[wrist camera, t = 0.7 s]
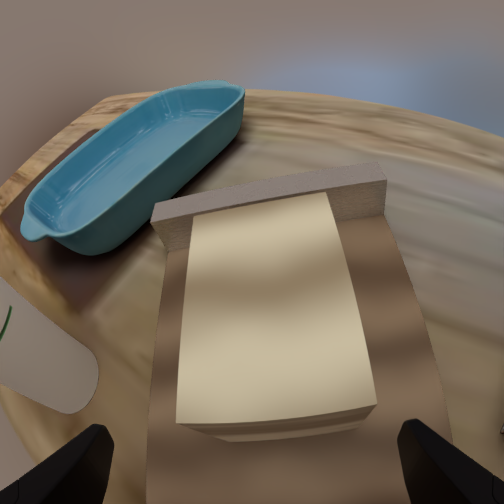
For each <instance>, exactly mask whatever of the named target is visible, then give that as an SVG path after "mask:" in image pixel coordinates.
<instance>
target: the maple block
mask: <svg viewBox="0 0 504 504" xmlns="http://www.w3.org/2000/svg"><path fill="white" fill-rule="evenodd" d="M376 405H377V399H376V393H375V387H374V382H373V376H372V371H371V366H370V361H369V356H368V351H367V346H366V341H365V337H364V332H363V327H362V323H361V319H360V314H359V310H358V306H357V302H356V297H355V293H354V289H353V285H352V281H351V278H350V274H349V270H348V266H347V262H346V259H345V255H344V251H343V248H342V244H341V241H340V237H339V234H338V230H337V227H336V224H335V220H334V217H333V214H332V210H331V207H330V204H329V201H328V198H327V194H326V192H322V193H316V194H310V195H304V196H298V197H292V198H286V199H280V200H275V201H269V202H264V203H258V204H253V205H248V206H242V207H237V208H232V209H227V210H222V211H217V212H212V213H207V214H202V215H197V216H194V218H193V226H192V233H191V241H190V250H189V258H188V267H187V276H186V285H185V295H184V305H183V316H182V328H181V340H180V353H179V368H178V385H177V405H176V423H177V424H179V425H182V426H185V427H187V428H190V429H193V430H195V431H198V432H201V433H204V434H207V435H210V436H213V437H216V438H219V439H222V440H225V441H229V442H243V441H262V440H276V439H287V438H297V437H305V436H313V435H320V434H327V433H334V432H340V431H345V430H351V429H356V428H358V427H359V426H360V425H361V424H362V423H363V421H364V420H365V419H366V418H367V416H368V415H369V414H370V413H371V411H372V410H373V409H374V408H375V406H376Z"/></svg>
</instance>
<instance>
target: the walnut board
mask: <svg viewBox="0 0 504 504" xmlns="http://www.w3.org/2000/svg"><path fill="white" fill-rule="evenodd" d="M335 224H336V227H337V230H338V234H339V237H340V241H341V244H342V248H343V251H344V255H345V259H346V262H347V266H348V270H349V274H350V278H351V281H352V285H353V289H354V293H355V297H356V302H357V306H358V310H359V314H360V319H361V323H362V327H363V332H364V337H365V341H366V346H367V351H368V356H369V361H370V366H371V371H372V376H373V382H374V387H375V393H376V399H377V405H376V406H375V408H374V409H373V410H372V411H371V413H370V414H369V415H368V416H367V418H366V419H365V420H364V421H363V423H362V424H361V425H360V426H359V427H358V428H356V429H351V430H345V431H340V432H334V433H327V434H320V435H313V436H305V437H297V438H287V439H276V440H262V441H243V442H229V441H225V440H222V439H219V438H216V437H213V436H210V435H207V434H204V433H201V432H198V431H195V430H193V429H190V428H187V427H185V426H182V425H179V424H177V423H176V405H177V385H178V368H179V353H180V340H181V328H182V316H183V305H184V295H185V285H186V276H187V267H188V258H189V250H190V248H186V249H181V250H175V251H170V252H168V257H167V263H166V269H165V275H164V281H163V288H162V295H161V302H160V309H159V316H158V324H157V332H156V341H155V349H154V359H153V369H152V379H151V391H150V404H149V419H148V437H147V462H146V504H411V502H410V499H409V495H408V492H407V489H406V485H405V482H404V477H403V471H402V466H401V461H400V455H399V450H398V445H397V437H398V434H399V432H400V429H401V427H402V424H403V422H404V421H406V420H409V419H414V418H417V419H419V420H420V421H422V422H423V423H424V424H426V425H427V426H428V427H430V428H431V429H432V430H434V431H435V432H436V433H438V434H439V435H440V436H442V437H443V438H444V439H446V440H447V441H448V442H450V443H451V444H452V445H453V441H452V435H451V429H450V424H449V418H448V413H447V408H446V403H445V398H444V394H443V389H442V385H441V381H440V377H439V373H438V369H437V365H436V361H435V357H434V353H433V350H432V346H431V343H430V339H429V336H428V332H427V329H426V326H425V322H424V319H423V316H422V313H421V310H420V307H419V304H418V301H417V298H416V295H415V292H414V289H413V286H412V284H411V281H410V278H409V275H408V273H407V270H406V267H405V265H404V262H403V259H402V257H401V254H400V252H399V249H398V247H397V244H396V242H395V239H394V237H393V235H392V232H391V230H390V228H389V225H388V223H387V221H386V218H385V216H384V215H378V216H372V217H366V218H360V219H354V220H347V221H341V222H335Z"/></svg>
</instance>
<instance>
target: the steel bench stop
mask: <svg viewBox="0 0 504 504" xmlns="http://www.w3.org/2000/svg"><path fill="white" fill-rule="evenodd" d="M386 188H387V178H386V176H385V175H384V173H383V171H382V169H381V167H380V166H379V164H378V162H373V163H365V164H358V165H350V166H343V167H337V168H330V169H323V170H317V171H311V172H305V173H299V174H293V175H287V176H282V177H276V178H270V179H265V180H260V181H255V182H249V183H244V184H239V185H234V186H229V187H225V188H220V189H215V190H211V191H206V192H201V193H197V194H192V195H188V196H184V197H179V198H175V199H171V200H167V201H163V202H158V203H155V206H154V210H153V214H152V217H151V221H150V223H151V225H152V226H153V228H154V230H155V231H156V233H157V234H158V236H159V238H160V239H161V241H162V242H163V244H164V246H165V247H166V249H167V250H168V252H170V251H175V250H181V249H186V248H190V241H191V233H192V226H193V218H194V216H197V215H202V214H207V213H212V212H217V211H222V210H227V209H232V208H237V207H242V206H248V205H253V204H258V203H264V202H269V201H275V200H280V199H286V198H292V197H298V196H304V195H310V194H316V193H322V192H326V194H327V198H328V201H329V204H330V207H331V210H332V214H333V217H334V220H335V222H341V221H347V220H354V219H360V218H366V217H372V216H378V215H384V209H385V199H386Z"/></svg>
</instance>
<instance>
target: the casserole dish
mask: <svg viewBox="0 0 504 504" xmlns="http://www.w3.org/2000/svg"><path fill="white" fill-rule="evenodd" d="M244 97H245V89H244V88H243V87H241V86H238V85H233V84H229V83H228V82H227V81H224V80H209V81H201V82H195V83H191V84H188V85H184V86H178V87H174V88H170V89H167V90H164V91H161V92H159V93H157V94H155V95H153V96H150V97H149V98H147V99H145V100H143V101H142V102H140V103H138V104H137V105H135V106H134V107H132V108H130V109H129V110H127V111H126V112H125V113H123V114H122V115H120V116H119V117H117V118H116V119H115V120H113V121H112V122H110V123H109V124H108V125H106V126H105V127H104V128H102V129H101V130H100V131H98V132H97V133H96V134H94V135H93V136H92V137H90V138H89V139H88V140H87V141H85V142H84V143H83V144H82V145H80V146H79V147H78V148H77V149H76V150H74V151H73V152H72V153H71V154H69V155H68V156H67V157H66V158H65V159H64V160H63V161H61V162H60V163H59V164H58V165H57V166H56V167H55V168H54V169H53V170H51V171H50V172H49V173H48V174H47V175H46V176H45V177H44V178H43V179H42V180H41V181H40V182H39V183H38V184H37V186H36V187H35V188H34V189H33V191H32V192H31V193H30V195H29V196H28V198H27V200H26V203H25V207H24V212H25V213H24V216H23V219H22V223H21V233H22V235H23V236H24V238H25V239H27V240H28V241H30V242H37V241H40V240H42V239H44V238H46V237H51V238H53V239H54V240H56V241H57V242H59V243H60V244H62V245H64V246H65V247H67V248H69V249H71V250H73V251H75V252H77V253H79V254H83V255H98V254H102V253H106V252H109V251H111V250H113V249H115V248H116V247H118V246H119V245H120V244H122V243H123V242H124V241H125V240H127V239H128V238H129V237H130V236H131V235H132V234H133V233H135V232H136V231H137V230H138V229H139V228H140V227H141V226H142V225H143V224H144V223H145V222H146V221H147V220H148V219H149V218H151V217H152V214H153V210H154V206H155V203H158V202H163V201H167V200H169V199H170V198H171V197H172V196H173V195H174V194H175V193H177V192H178V191H179V190H180V189H181V188H182V187H183V186H184V185H185V184H186V183H187V182H188V181H189V180H190V179H192V178H193V177H194V176H195V175H196V174H197V173H198V172H199V171H200V170H201V169H202V168H204V167H205V166H206V165H207V164H208V163H209V162H210V161H211V160H212V159H213V158H215V157H216V156H217V155H218V154H219V153H220V152H221V151H222V150H223V149H224V148H225V147H226V146H227V145H228V144H229V143H230V142H231V141H232V140H233V138H234V137H235V136H236V135H237V133H238V131H239V129H240V126H241V122H242V117H243V109H244Z"/></svg>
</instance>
